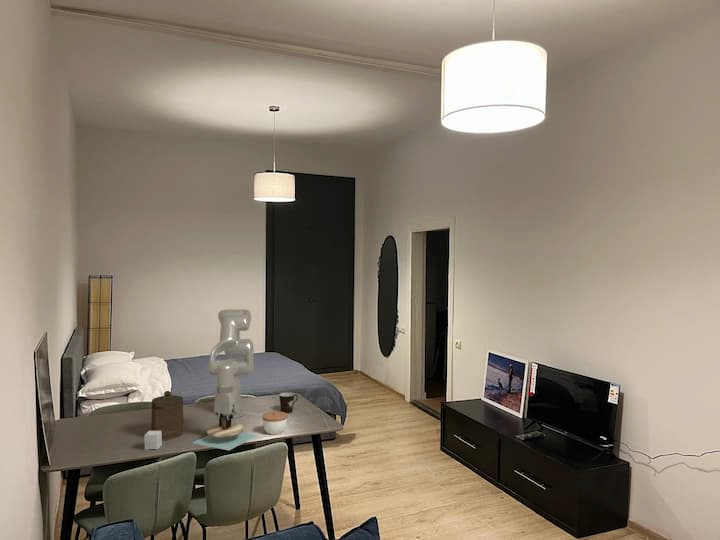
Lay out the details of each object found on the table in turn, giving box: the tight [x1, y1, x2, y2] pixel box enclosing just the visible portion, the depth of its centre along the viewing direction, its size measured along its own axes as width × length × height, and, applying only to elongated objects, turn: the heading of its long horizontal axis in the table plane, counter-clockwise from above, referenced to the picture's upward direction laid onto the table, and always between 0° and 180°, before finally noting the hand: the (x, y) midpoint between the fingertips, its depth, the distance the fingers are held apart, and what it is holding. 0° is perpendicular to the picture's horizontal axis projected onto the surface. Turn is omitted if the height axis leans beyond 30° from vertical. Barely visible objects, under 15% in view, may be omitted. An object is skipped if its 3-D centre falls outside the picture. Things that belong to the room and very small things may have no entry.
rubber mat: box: [191, 432, 258, 451], centre depth 258 cm, size 22×22×1 cm
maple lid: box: [206, 415, 244, 437], centre depth 259 cm, size 17×17×7 cm
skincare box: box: [143, 430, 163, 451], centre depth 247 cm, size 6×6×7 cm
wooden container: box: [151, 390, 184, 441], centre depth 264 cm, size 15×15×22 cm
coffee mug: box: [278, 392, 298, 414], centre depth 305 cm, size 12×9×10 cm
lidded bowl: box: [261, 410, 288, 436], centre depth 269 cm, size 13×13×11 cm
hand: (225, 426), depth 259 cm, fingers closed on maple lid, 3 cm apart
